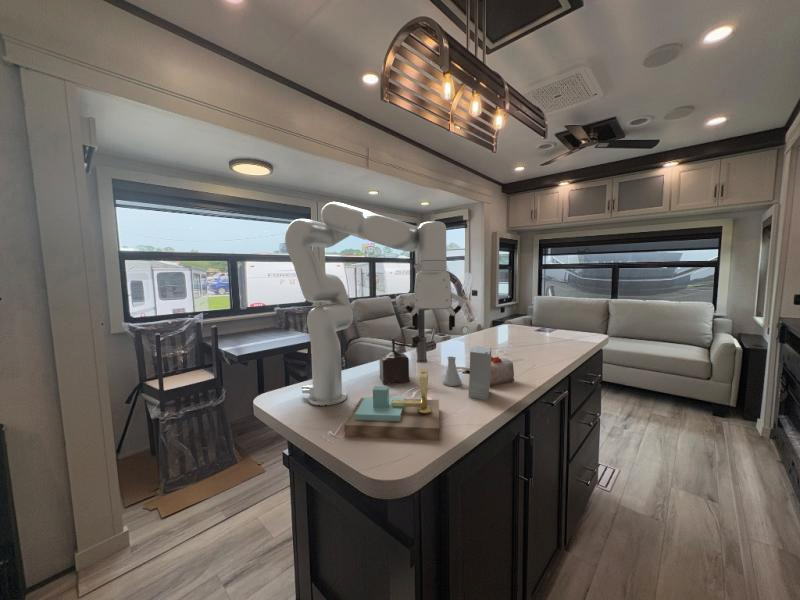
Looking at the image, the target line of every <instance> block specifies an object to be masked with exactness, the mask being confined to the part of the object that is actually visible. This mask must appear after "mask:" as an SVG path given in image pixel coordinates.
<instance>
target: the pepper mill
mask: <svg viewBox="0 0 800 600" xmlns="http://www.w3.org/2000/svg"><path fill="white" fill-rule="evenodd" d="M421 341H422V337H421V336H420V335H417V334H414V335H412V336H411V342H412V343H411V345H410V344H407V343H400V342H399V343H398V342H396V339H395V338H394V337H393V338H391V344H392V346H391V347H392V350H391V351H389V352H386V353H384V354H383V353H381V354H379V378H381V379H380V380H381V383H382V384H383V386H384V385H385V386H386V385H395V384H396V385H397V384H404V383H410V366H409V364H410V362H409V361H410V359H409V357H408V356H407V355H406V354H405V353H404V352H399V351H396V350H395V345H396V346H401V347H407V348H411V349H412V348H413V349H416V348H418V347H419V343H420V342H421Z"/></svg>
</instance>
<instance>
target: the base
mask: <svg viewBox="0 0 800 600" xmlns="http://www.w3.org/2000/svg"><path fill="white" fill-rule="evenodd" d="M364 398H365V397H361V398H360V399H359V401H358V402H357V403H356V406H355V407H354V408H353V410H352V412H351V413H350V415H349V417H348V418H347V419H346V421H345V423H344V425H343V428H344V429H343V430H344V432H343V433H344V437H355V438H356V437H358V438H359V437H360V438H377V439H378V438H380V439H408V440H428V441H429V440H430V441H440V400H439V399H427V406H430V407H431V408H432V412H431V413H429V414H420V413H418V412H417V407H404V408H403V412H402V416H401V420H400V421H378V420H355V413H356V411H357V410H358V408H359V406H360V405H361V403H362V401H363V400H364ZM405 400H416V401H421V398H405Z"/></svg>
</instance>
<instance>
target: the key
mask: <svg viewBox="0 0 800 600" xmlns="http://www.w3.org/2000/svg"><path fill="white" fill-rule="evenodd" d="M418 378H419V379H418V380H419V387H418V388H419V389H420V395H421V396H420V399H421V401H416V400H392V402H391V406H400V407H417V412H418V413H420V414H429V413H431V412H432V408H431V407H430V406H427V400H428V382H429V368H420V371H419V377H418Z"/></svg>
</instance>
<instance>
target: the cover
mask: <svg viewBox="0 0 800 600" xmlns="http://www.w3.org/2000/svg"><path fill="white" fill-rule="evenodd" d="M363 398H364V400H363V401H362V403H361V405H360V406H359V408H358V410H357V411H356V413H355V420H378V421H400V420H401V416H402V412H403V408H404V407H400V406H391V402H392V400H405V399H406V398H405V397H390V386H388V385H385V386H384V385H374V387H373V389H372V396H365V397H363Z"/></svg>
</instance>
